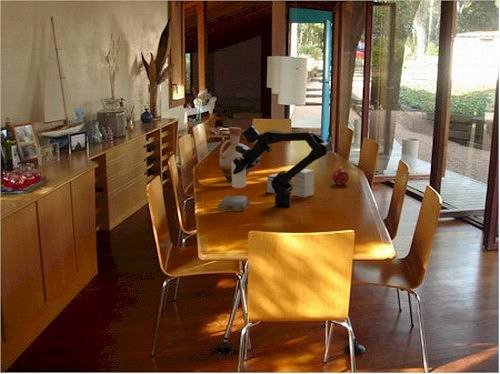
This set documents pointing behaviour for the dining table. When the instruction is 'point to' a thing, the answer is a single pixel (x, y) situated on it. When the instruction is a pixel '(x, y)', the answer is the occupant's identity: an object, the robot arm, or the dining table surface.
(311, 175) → the supplement box
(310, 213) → the dining table surface
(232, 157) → the jug
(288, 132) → the robot arm
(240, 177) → the ivory pillar block
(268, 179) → the medicine box
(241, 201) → the slate top slab
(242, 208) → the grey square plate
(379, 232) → the dining table surface
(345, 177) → the christmas ornament
